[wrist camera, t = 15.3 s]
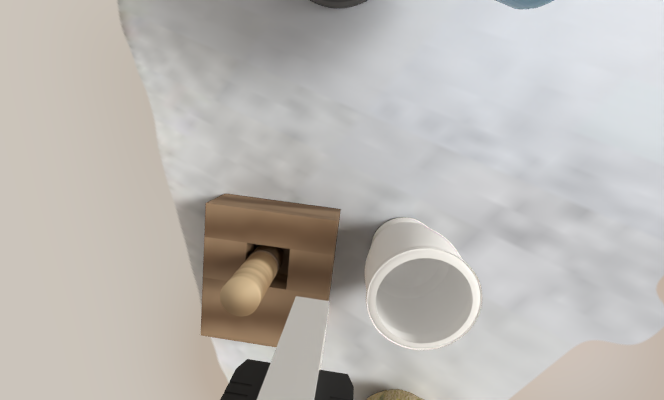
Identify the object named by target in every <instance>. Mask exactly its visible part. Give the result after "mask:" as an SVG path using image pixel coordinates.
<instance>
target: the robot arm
mask: <svg viewBox="0 0 664 400" xmlns="http://www.w3.org/2000/svg"><path fill="white" fill-rule="evenodd" d="M310 1H312V2H314V3H317V4H319V5H322V6H326V7H331V8H346V7H352V6H355V5H358V4H361V3H363V2H366V1H367V0H310ZM496 1H498V2H500V3H503V4H505V5H507V6H510V7H512V8H515V9H530V8H538V7H540V6H543V5H545V4H548V3H550V2H552V1H554V0H496ZM329 305H330V301H325V300H318V299H312V298H305V297H298V296H296V297H295V300H294V302H293V305H292V308H291V310H290V313H289V316H288V318H287V321H286V324H285V326H284V329H283V332H282V334H281V337H280V340H279V342H278V345H277V347H276V350H275V353H274V355H273V358H272V361H271V363H268V362H262V361H256V360H249V359H247V360H246V361H245V362H244V363H242V364H241V365H240V366H239V367H238V368H237V369H236V370H235V372H234V374H233V376H232V378H231V380H230V383H229V384H228V386H227V388H226V390H225V392H224V394H223V396H222V397H221V400H353V385H352V382H351V380H350V378H349V376H348V374H343V373H337V372H330V371H324V370H321V365H322V358H323V351H324V343H325V336H326V328H327V320H328V312H329Z"/></svg>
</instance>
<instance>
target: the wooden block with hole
mask: <svg viewBox="0 0 664 400" xmlns="http://www.w3.org/2000/svg"><path fill="white" fill-rule="evenodd" d="M340 210H341V209H336V208H328V207H321V206H314V205H306V204H299V203H291V202H284V201H277V200H269V199H262V198H254V197H247V196H240V195H232V194H224V195H221V196H219V197H217V198H215V199H213V200H211V201H209V202H207V203H206V210H205V237H204V263H203V290H202V316H201V318H202V319H201V335H203V336H209V337H215V338H222V339H228V340H234V341H240V342H247V343H253V344H259V345H266V346H272V347H277V345H278V342H279V340H280V337H281V334H282V332H283V329H284V326H285V324H286V321H287V318H288V316H289V313H290V310H291V308H292V305H293V302H294V300H295V297H296V296H298V297H305V298H312V299H318V300H325V301H329V295H330V288H331V280H332V272H333V264H334V257H335V249H336V241H337V233H338V226H339V218H340ZM260 245H265V246H272V247H279V248H281V249H282V251H283V263H282V265H281V267H280V269H279V271H278V273H277V275H276V276H275V278H274V279H273V281H272V283H271V285H270V286H269V288H268V290H267V292H266V293H265V295H264V297H263V299H262V300H261V302H260V304H259V306H258V307H257V309H256V310H255V311H254V312H253V313H252V314H250V315H248V316H243V317H240V316H235V315H232V314H230V313H229V312H228V311H226V310H225V308H224V307H223V306H222V304H221V301H220V292H221V289H222V288H223V286H224V285H225V284H226V283H227V281H228V280H229V279H230V278H231V277H232V276H233V275H234V273H235V272H236V271H237V270H238V269H239V268H240V267H241V265H242V264H243V263H244V262H245V261H246V260H247V258H248V257H249V256H250V254H251V253H253V252H254V250H255V249H256V248H257V247H258V246H260Z"/></svg>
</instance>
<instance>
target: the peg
mask: <svg viewBox="0 0 664 400" xmlns="http://www.w3.org/2000/svg"><path fill="white" fill-rule="evenodd" d="M282 263H283V251H282V249H281V248H279V247H272V246H265V245H260V246H258V247H257V248H256V249H255V250H254V252H253V253H251V254H250V256H249V257H248V258H247V260H246V261H245V262H244V263H243V264H242V265H241V267H240V268H239V269H238V270H237V271H236V272H235V273H234V275H233V276H232V277H231V278H230V279H229V280H228V281H227V283H226V284H225V285H224V286H223V288H222V289H221V292H220V301H221V304H222V306H223V307H224V308H225V310H226V311H228V312H229V313H230V314H232V315H235V316H240V317H243V316H248V315H250V314H252V313H253V312H254V311H255V310H256V309H257V307H258V306H259V304H260V302H261V300H262V299H263V297H264V295H265V293H266V292H267V290H268V288H269V286H270V285H271V283H272V281H273V279H274V278H275V276H276V275H277V273H278V271H279V269H280V267H281V265H282Z"/></svg>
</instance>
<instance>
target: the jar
mask: <svg viewBox="0 0 664 400" xmlns="http://www.w3.org/2000/svg"><path fill="white" fill-rule="evenodd" d="M365 285H366V289H367V292H366V304H367V309H368V313H369V316H370V318H371V321H372V323H373V324H374V326H375V327H376V329H377V330H378V331H379V332H380V333H381V334H382V335H383V336H384V337H385V338H387V339H388V340H390V341H391V342H393V343H395V344H397V345H399V346H402V347H405V348H409V349H415V350H431V349H437V348H441V347H444V346H447V345H449V344H451V343H453V342H455V341H457V340H458V339H460V338H461V337H463V336H464V335H465V334H466V333H467V332H468V331H469V330H470V329H471V328H472V326H473V325H474V324H475V322H476V320H477V318H478V316H479V314H480V311H481V307H482V289H481V285H480V282H479V279H478V277H477V276H476V274H475V272H474V271H473V270H472V268H471V267H470V266H469V265H468V264H467V263H466V262H465V261H464V260H463V259H462V258H461V256H460V255H459V253H458V252H457V250H456V249H455V247H454V246H453V245H452V244H451V243H450V242H449V241H448V240H447V239H446V238H445V237H444V236H442V235H441V234H439V233H438V232H436V231H434V230H432V229H431V228H429V227H427V226H426V225H424V224H423V223H422V222H420V221H418V220H416V219H412V218H406V217H401V218H395V219H392V220H390V221H388V222H386V223H384V224H383V225H382V226H381V227H380V228H379V229H378V230H377V231H376V233H375V234H374V236H373V239H372V243H371V247H370V250H369V253H368V256H367V259H366V263H365Z"/></svg>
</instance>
